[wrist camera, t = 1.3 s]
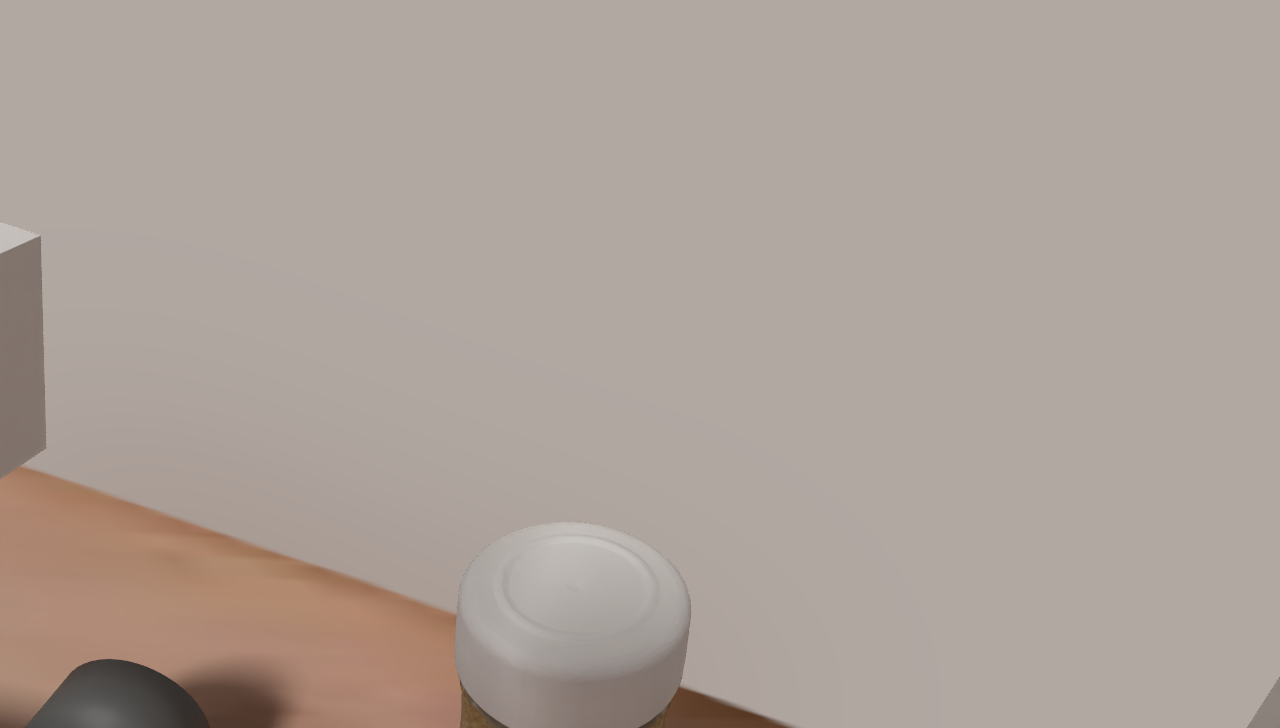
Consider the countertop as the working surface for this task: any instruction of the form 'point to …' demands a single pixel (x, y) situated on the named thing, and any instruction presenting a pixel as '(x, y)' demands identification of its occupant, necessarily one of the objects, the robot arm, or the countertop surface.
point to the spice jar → (570, 630)
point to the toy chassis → (118, 700)
